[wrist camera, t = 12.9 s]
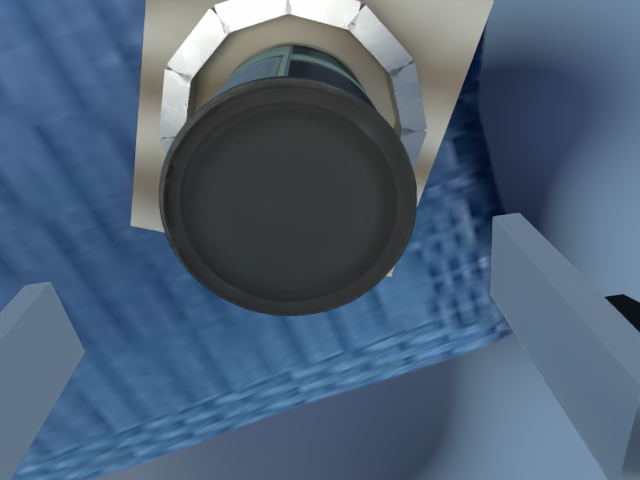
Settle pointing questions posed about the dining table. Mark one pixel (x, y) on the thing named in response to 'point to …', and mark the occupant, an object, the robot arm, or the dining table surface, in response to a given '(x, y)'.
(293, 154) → the coffee can
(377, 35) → the steel collar
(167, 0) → the birch board
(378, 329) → the dining table surface
